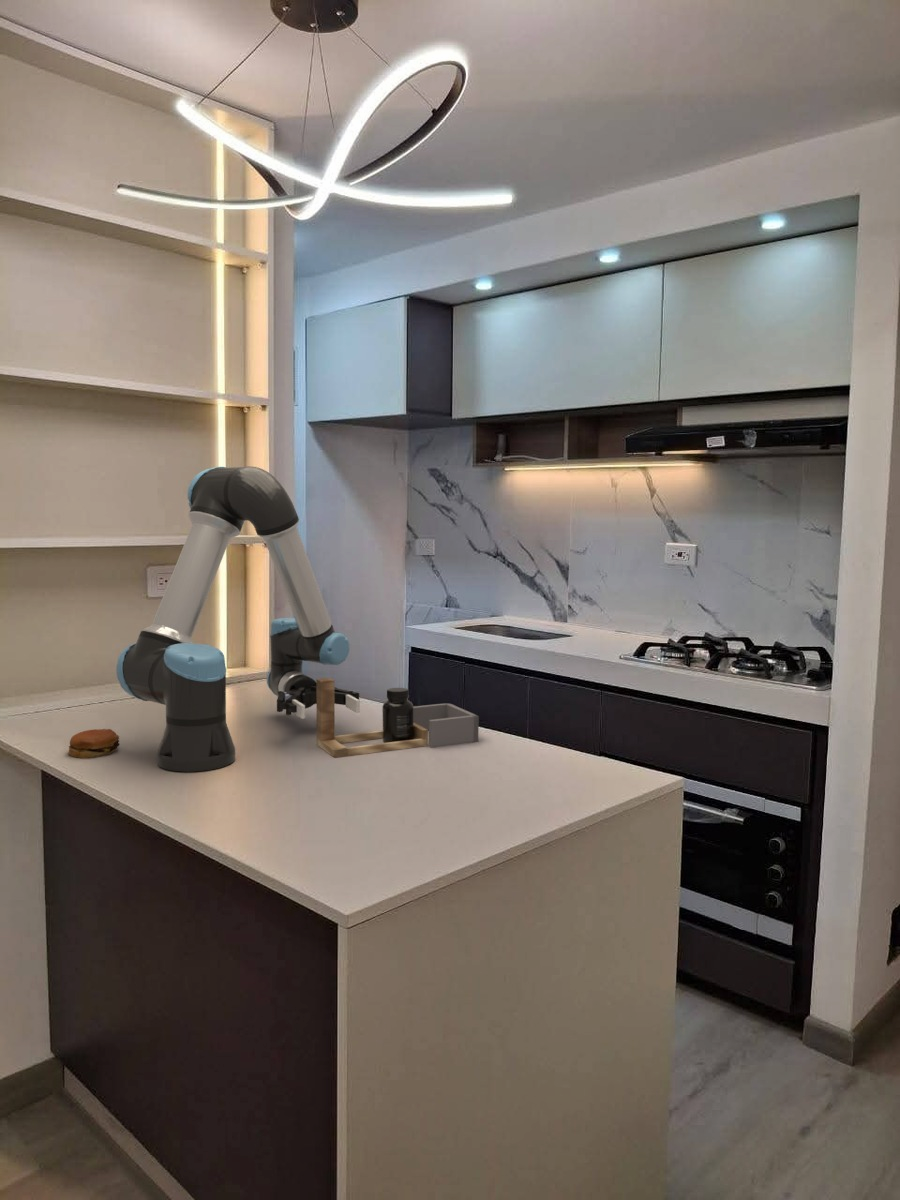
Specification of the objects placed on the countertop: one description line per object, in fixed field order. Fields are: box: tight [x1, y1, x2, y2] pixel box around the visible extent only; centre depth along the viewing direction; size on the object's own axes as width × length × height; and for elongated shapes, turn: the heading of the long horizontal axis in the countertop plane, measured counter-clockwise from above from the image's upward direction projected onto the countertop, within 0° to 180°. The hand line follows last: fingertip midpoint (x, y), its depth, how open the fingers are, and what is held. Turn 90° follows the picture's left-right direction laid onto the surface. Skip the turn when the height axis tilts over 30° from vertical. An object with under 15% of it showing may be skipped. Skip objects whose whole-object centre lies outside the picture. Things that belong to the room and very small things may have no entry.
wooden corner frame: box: [315, 677, 429, 758], centre depth 192 cm, size 22×11×14 cm, turn 118°
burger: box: [68, 728, 121, 759], centre depth 185 cm, size 10×9×5 cm
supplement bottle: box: [382, 687, 414, 743], centre depth 195 cm, size 7×7×12 cm
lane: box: [413, 702, 480, 749], centre depth 200 cm, size 12×14×6 cm
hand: (331, 709), depth 188 cm, fingers open, 11 cm apart
